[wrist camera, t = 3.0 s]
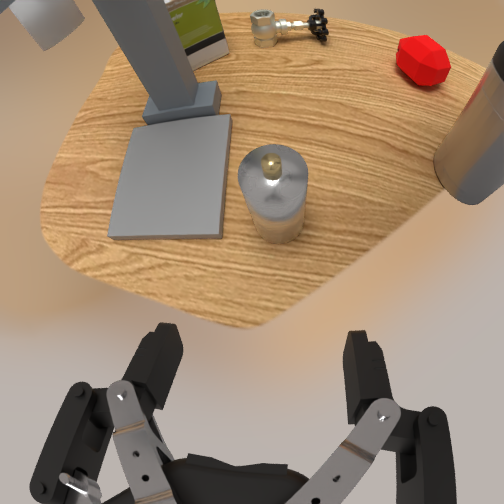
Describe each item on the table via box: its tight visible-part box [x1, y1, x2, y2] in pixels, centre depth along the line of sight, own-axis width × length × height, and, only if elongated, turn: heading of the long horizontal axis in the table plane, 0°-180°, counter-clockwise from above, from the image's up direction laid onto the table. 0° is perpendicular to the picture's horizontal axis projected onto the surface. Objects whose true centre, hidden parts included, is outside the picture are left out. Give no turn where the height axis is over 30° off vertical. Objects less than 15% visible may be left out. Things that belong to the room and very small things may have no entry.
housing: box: [238, 144, 308, 244], centre depth 24 cm, size 5×5×12 cm
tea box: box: [164, 0, 229, 71], centre depth 33 cm, size 15×10×15 cm, turn 32°
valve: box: [250, 9, 329, 48], centre depth 35 cm, size 7×7×12 cm
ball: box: [396, 35, 451, 86], centre depth 29 cm, size 8×8×8 cm
